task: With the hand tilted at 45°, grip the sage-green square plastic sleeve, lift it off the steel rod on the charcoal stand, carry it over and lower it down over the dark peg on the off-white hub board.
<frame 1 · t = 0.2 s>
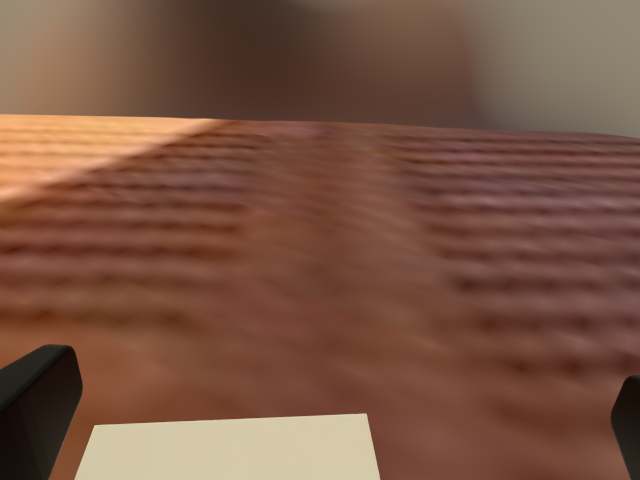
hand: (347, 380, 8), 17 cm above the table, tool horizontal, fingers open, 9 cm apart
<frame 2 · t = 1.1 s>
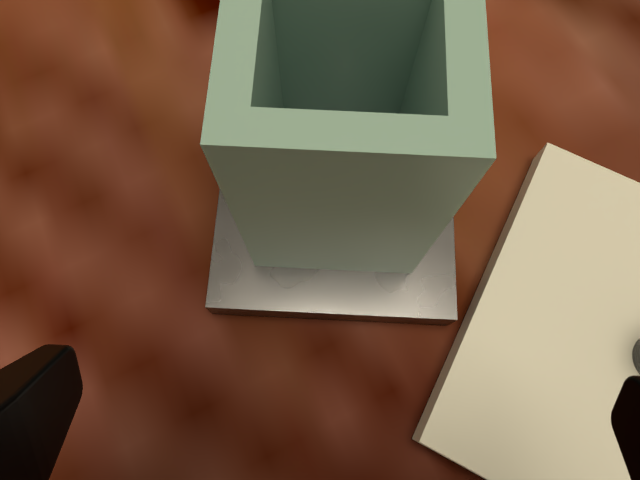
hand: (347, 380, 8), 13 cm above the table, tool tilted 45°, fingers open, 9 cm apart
sleeve: (335, 197, 21), point 1 cm above the table, touching stand
hub board: (634, 362, 21), on the table
stand: (334, 210, 23), on the table
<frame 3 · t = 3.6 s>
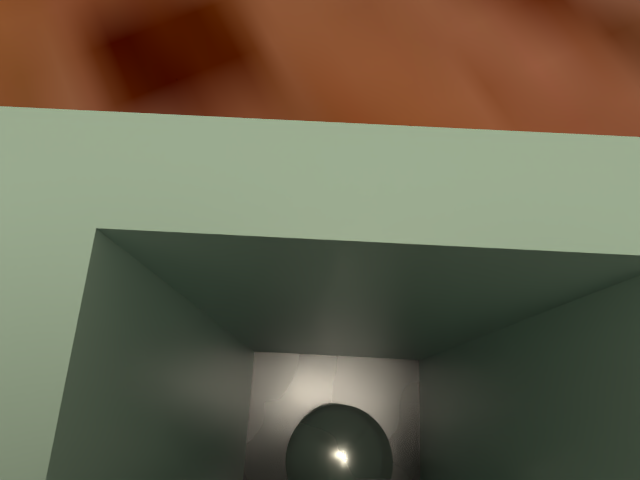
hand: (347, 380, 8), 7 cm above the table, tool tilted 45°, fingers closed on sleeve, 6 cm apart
sleeve: (333, 444, 13), point 2 cm above the table, touching gripper, stand
stand: (331, 439, 14), on the table
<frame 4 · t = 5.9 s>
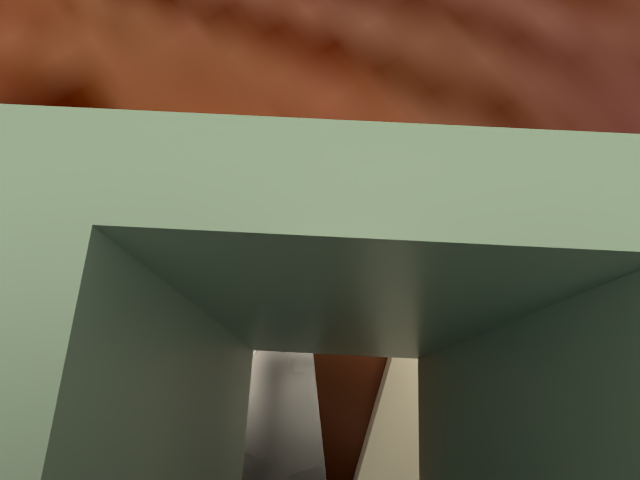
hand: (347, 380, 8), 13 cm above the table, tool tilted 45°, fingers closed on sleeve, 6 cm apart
sleeve: (331, 443, 13), point 8 cm above the table, touching gripper
stand: (194, 392, 20), on the table
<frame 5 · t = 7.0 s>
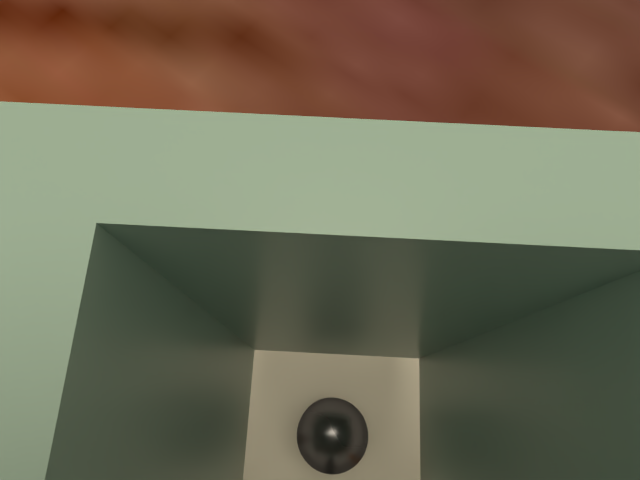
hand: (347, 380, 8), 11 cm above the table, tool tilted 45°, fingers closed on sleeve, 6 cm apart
sleeve: (333, 442, 13), point 6 cm above the table, touching gripper
hub board: (328, 425, 19), on the table
when the fingers open (8 cm above the table, at t = 8.1 s): sleeve drops 2 cm, resting on hub board.
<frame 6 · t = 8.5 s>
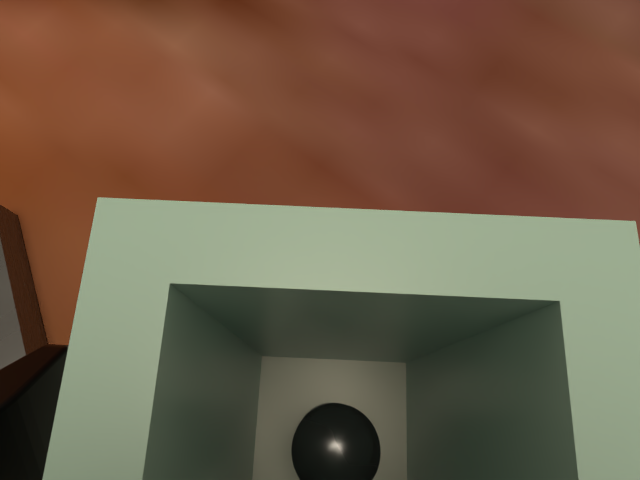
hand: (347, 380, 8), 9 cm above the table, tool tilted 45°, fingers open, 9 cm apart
sleeve: (331, 436, 14), point 1 cm above the table, touching hub board
hub board: (330, 434, 16), on the table
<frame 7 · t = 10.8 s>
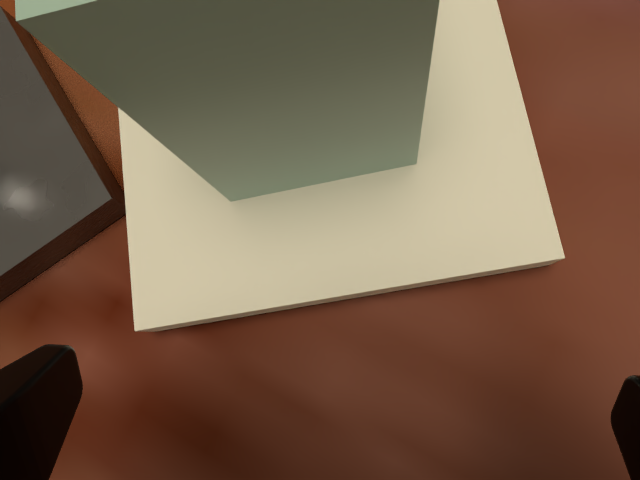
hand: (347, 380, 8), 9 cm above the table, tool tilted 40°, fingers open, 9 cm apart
sleeve: (306, 97, 17), point 1 cm above the table, touching hub board
hub board: (313, 117, 19), on the table
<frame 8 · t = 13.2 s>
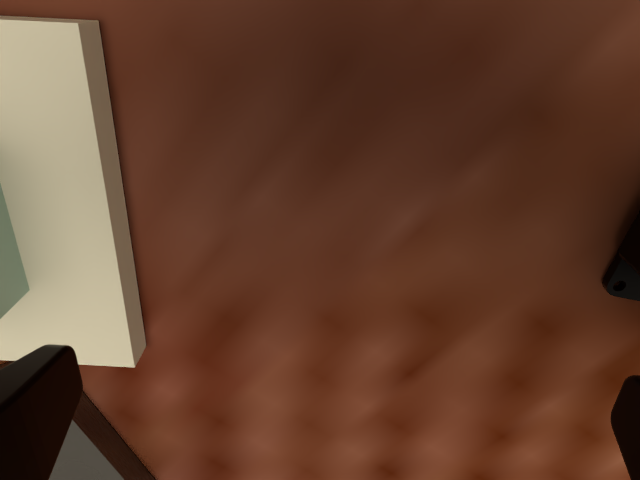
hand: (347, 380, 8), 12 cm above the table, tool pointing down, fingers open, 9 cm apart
stand: (28, 443, 27), on the table
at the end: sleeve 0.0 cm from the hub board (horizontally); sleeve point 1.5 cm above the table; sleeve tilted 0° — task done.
